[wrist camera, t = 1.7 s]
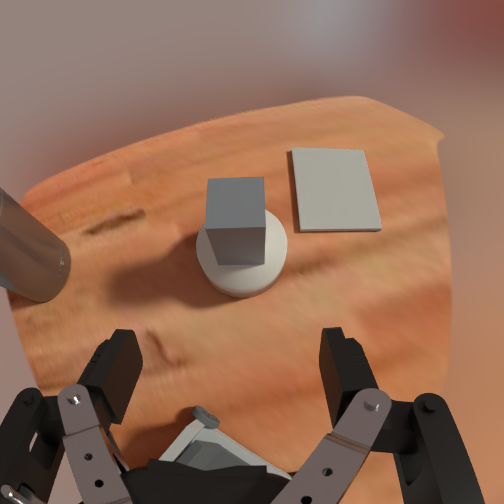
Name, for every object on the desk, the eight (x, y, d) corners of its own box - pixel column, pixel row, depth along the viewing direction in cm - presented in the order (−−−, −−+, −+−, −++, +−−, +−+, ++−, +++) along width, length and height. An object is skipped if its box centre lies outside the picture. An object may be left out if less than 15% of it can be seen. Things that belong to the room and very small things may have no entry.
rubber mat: (300, 231, 35) (300, 229, 35) (291, 150, 40) (291, 147, 39) (380, 230, 35) (382, 228, 35) (362, 152, 40) (363, 150, 39)
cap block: (218, 265, 30) (205, 228, 22) (219, 224, 32) (207, 178, 24) (264, 264, 30) (266, 227, 22) (262, 222, 31) (263, 176, 24)
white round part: (201, 298, 33) (194, 288, 29) (204, 222, 36) (198, 205, 32) (286, 296, 33) (289, 286, 29) (281, 220, 36) (284, 202, 32)
